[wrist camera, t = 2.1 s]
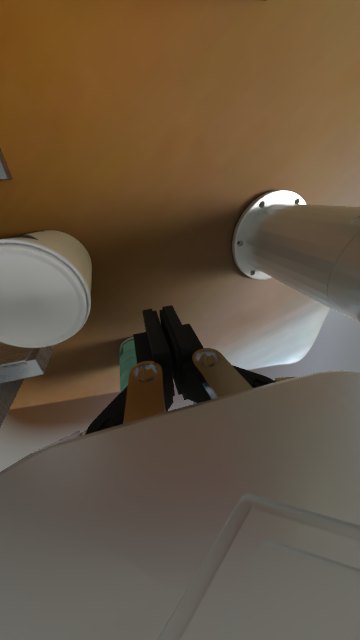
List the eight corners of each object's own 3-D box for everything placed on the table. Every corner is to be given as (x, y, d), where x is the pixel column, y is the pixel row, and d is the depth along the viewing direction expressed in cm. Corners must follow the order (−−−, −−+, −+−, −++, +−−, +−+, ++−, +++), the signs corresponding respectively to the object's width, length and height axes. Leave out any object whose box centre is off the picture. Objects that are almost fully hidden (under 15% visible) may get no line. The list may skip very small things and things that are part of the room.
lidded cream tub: (43, 202, 23) (-12, 208, 13) (113, 260, 28) (112, 297, 18) (-3, 264, 25) (-81, 312, 15) (71, 308, 30) (49, 366, 20)
